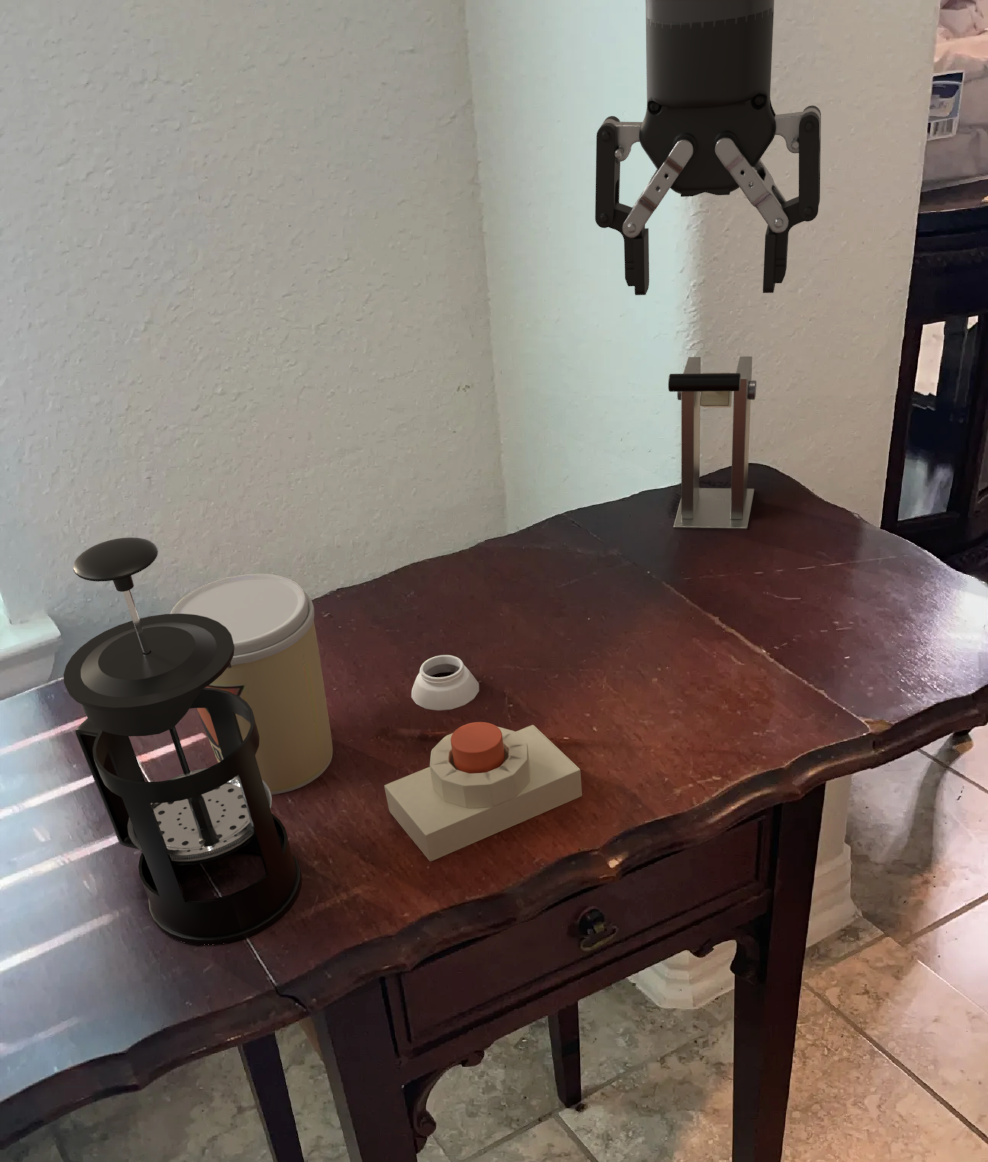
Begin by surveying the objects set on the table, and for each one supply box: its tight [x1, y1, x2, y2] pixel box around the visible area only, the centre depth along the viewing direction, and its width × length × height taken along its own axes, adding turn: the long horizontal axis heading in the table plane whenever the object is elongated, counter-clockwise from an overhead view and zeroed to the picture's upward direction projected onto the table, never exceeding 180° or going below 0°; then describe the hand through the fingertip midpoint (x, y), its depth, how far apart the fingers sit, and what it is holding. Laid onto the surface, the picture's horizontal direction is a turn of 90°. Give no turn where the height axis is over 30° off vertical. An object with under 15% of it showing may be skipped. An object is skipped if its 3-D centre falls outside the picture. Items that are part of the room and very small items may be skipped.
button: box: [451, 721, 505, 774], centre depth 78 cm, size 3×3×2 cm
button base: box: [383, 724, 583, 862], centre depth 80 cm, size 11×6×4 cm, turn 119°
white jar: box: [410, 654, 480, 711], centre depth 90 cm, size 5×3×5 cm
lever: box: [667, 372, 741, 409], centre depth 95 cm, size 12×5×2 cm, turn 166°
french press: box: [63, 536, 303, 946], centre depth 70 cm, size 12×9×23 cm
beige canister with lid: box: [169, 573, 334, 796], centre depth 83 cm, size 9×9×12 cm
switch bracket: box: [672, 355, 757, 531], centre depth 102 cm, size 7×6×13 cm
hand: (705, 290), depth 86 cm, fingers open, 8 cm apart
